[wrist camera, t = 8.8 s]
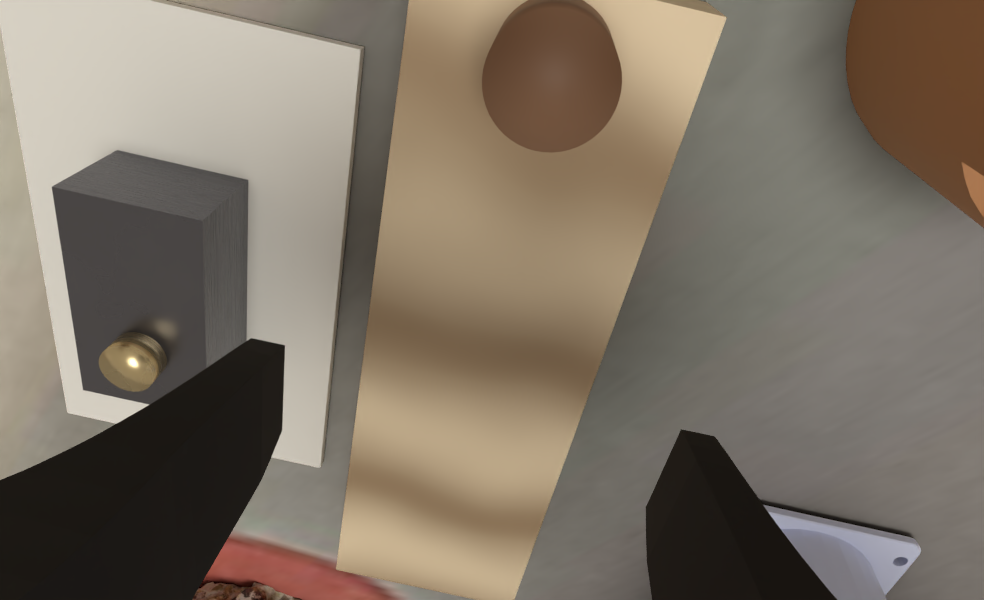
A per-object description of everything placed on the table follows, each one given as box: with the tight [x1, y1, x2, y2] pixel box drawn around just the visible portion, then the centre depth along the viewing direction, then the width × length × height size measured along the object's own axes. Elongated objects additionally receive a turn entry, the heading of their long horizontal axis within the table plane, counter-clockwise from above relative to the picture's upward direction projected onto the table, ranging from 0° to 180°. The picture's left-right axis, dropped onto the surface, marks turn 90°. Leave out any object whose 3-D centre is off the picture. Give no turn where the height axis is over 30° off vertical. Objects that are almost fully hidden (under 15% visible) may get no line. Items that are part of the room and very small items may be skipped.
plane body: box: [336, 0, 727, 600], centre depth 20 cm, size 22×7×5 cm, turn 168°
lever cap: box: [52, 150, 248, 405], centre depth 20 cm, size 7×4×4 cm, turn 168°
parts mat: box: [0, 0, 364, 468], centre depth 22 cm, size 16×10×1 cm, turn 168°
